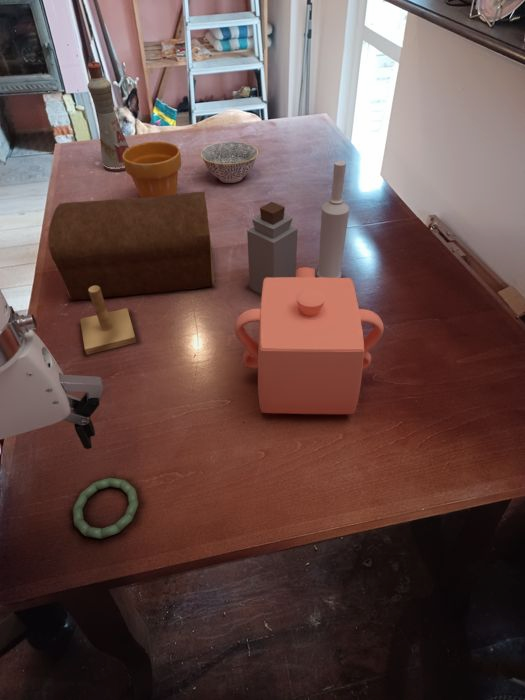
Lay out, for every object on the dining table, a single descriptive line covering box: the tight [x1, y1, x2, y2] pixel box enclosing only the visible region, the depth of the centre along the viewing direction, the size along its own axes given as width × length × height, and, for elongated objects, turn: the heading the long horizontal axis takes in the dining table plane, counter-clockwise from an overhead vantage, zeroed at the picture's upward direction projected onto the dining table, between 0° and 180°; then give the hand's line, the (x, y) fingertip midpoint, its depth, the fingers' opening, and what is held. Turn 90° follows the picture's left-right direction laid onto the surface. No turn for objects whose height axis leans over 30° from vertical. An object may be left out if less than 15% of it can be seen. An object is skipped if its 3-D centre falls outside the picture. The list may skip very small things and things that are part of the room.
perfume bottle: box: [246, 201, 298, 296], centre depth 93 cm, size 7×7×18 cm
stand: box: [79, 286, 137, 356], centre depth 86 cm, size 9×9×10 cm
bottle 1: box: [87, 61, 130, 172], centre depth 135 cm, size 9×9×28 cm
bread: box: [47, 191, 216, 301], centre depth 98 cm, size 18×30×16 cm, turn 98°
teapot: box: [234, 266, 385, 415], centre depth 77 cm, size 25×23×18 cm
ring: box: [72, 477, 139, 540], centre depth 64 cm, size 8×8×1 cm
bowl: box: [199, 141, 259, 184], centre depth 135 cm, size 16×16×8 cm
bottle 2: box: [316, 160, 350, 278], centre depth 92 cm, size 5×5×25 cm
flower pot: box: [122, 141, 182, 198], centre depth 123 cm, size 14×14×13 cm
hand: (43, 452), depth 53 cm, fingers open, 9 cm apart
